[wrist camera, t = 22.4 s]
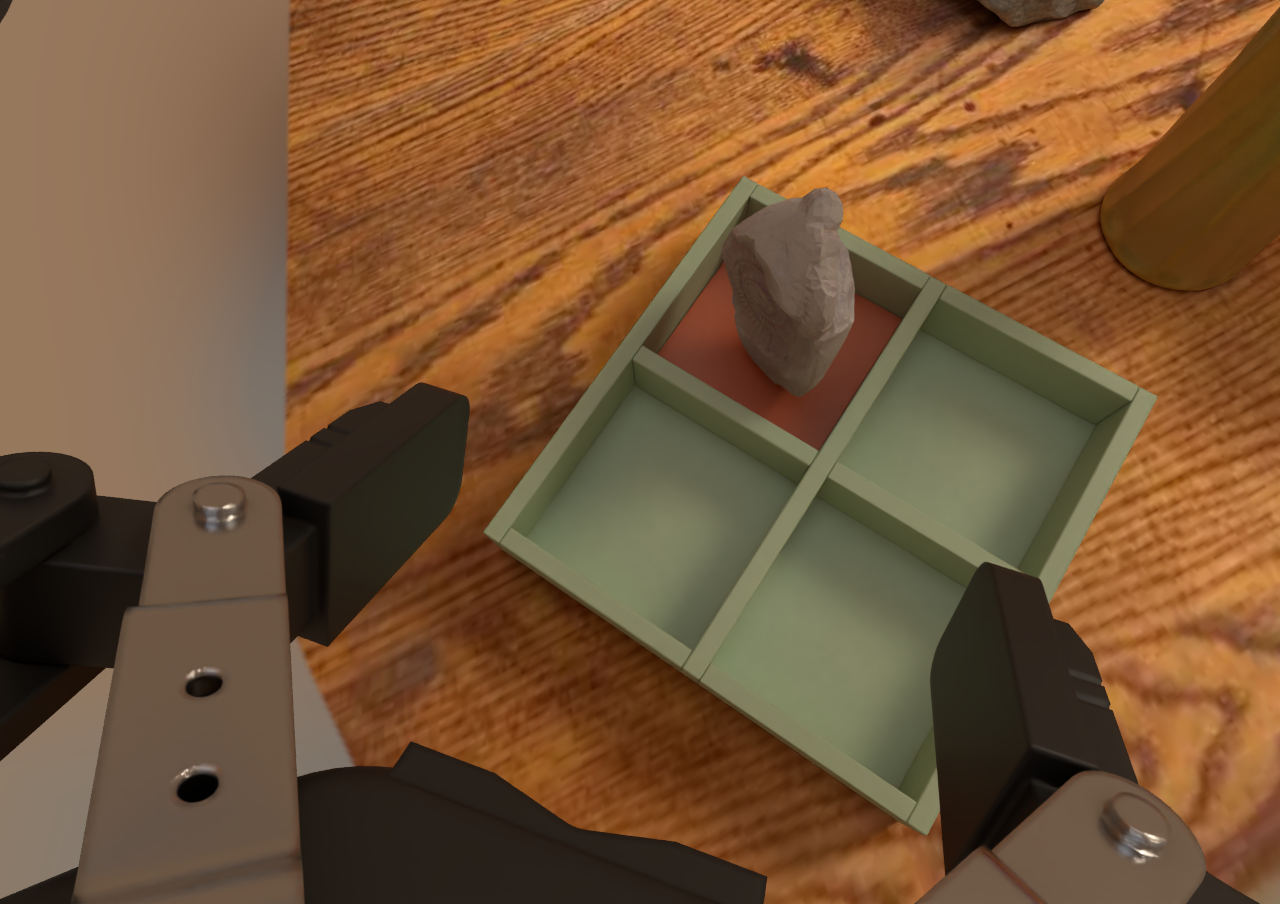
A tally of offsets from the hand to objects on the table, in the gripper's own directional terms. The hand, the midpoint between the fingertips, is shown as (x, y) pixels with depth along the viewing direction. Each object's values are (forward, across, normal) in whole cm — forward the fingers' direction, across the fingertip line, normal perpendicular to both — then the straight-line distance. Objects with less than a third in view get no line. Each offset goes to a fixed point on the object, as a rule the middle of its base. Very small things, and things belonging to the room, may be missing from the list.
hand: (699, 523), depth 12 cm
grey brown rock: (+21, 0, +4) cm, 21 cm away
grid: (+18, -3, +8) cm, 20 cm away
